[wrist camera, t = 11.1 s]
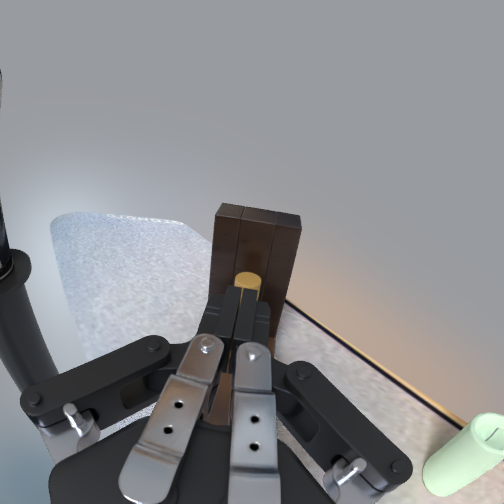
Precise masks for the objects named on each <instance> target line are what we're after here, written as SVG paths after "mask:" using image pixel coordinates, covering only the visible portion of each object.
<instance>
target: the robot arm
mask: <svg viewBox="0 0 504 504" xmlns="http://www.w3.org/2000/svg"><path fill="white" fill-rule="evenodd" d="M1 95H2V75H1V70H0V106H1ZM13 268H14V262H13V259H12V256H11V252H10V248H9V243H8V239H7V234H6V229H5V223H4V218H3V213H2V206H1V200H0V282H1V281H3V280H4V279H5V278H7V277H8V276H9V275H10V274H11V272H12V271H13ZM241 293H242V297H241ZM257 294H258V290H254V289H248V288H243V292H242V287H237V286H231V285H227V289H226V292H225V295H223V294H218V293H215V294H214V295H212V296H211V297H210V298H209V300H208V302H207V305H206V308H205V311H204V314H203V316H202V319H201V322H200V325H199V328H198V331H197V334H196V336H195V337H194V338H193V339H192V340H190V341H188V342H186V343H182V344H169V342H168V341H167V340H166V339H165V338H163V337H161V336H157V335H150V336H146V337H144V338H141V339H139V340H137V341H135V342H133V343H130V344H128V345H126V346H124V347H121V348H119V349H117V350H115V351H112V352H110V353H108V354H106V355H103V356H101V357H99V358H97V359H94V360H92V361H90V362H87V363H85V364H83V365H80V366H78V367H76V368H73V369H71V370H69V371H66V372H64V373H62V374H59V375H57V376H54V377H52V378H50V379H47V380H45V381H42V382H40V383H38V384H35V385H33V386H30V387H28V388H27V389H25V390H24V391H23V393H22V395H21V397H20V405H21V407H22V409H23V411H24V412H25V413H26V415H27V416H28V417H29V418H30V420H31V421H32V422H33V423H34V424H35V426H36V427H37V428H38V429H39V431H40V433H41V436H42V438H43V440H44V442H45V444H46V447H47V449H48V451H49V453H50V455H51V457H52V459H53V460H54V462H55V467H54V468H53V469H52V471H51V474H50V477H49V485H48V486H49V493H50V500H51V504H375V503H376V502H377V501H378V500H379V499H380V498H381V497H383V496H385V495H386V494H388V493H390V492H391V491H393V490H395V489H396V488H397V487H398V486H400V485H401V484H403V483H404V482H406V481H407V480H408V479H409V478H410V477H411V475H412V471H413V466H412V462H411V460H410V459H409V458H408V457H407V456H406V455H405V454H404V453H403V452H402V451H401V450H400V449H399V448H398V447H397V446H396V445H394V444H393V443H392V442H391V441H390V440H389V439H388V438H387V437H386V436H385V435H384V434H383V433H382V432H381V431H380V430H379V429H378V428H377V427H376V426H375V425H374V424H372V423H371V422H370V421H369V420H368V419H367V418H366V417H365V416H364V415H363V414H362V413H361V412H360V411H359V410H358V409H357V408H356V407H355V406H354V405H353V404H352V403H351V402H350V401H349V400H348V399H347V398H346V397H345V396H344V395H343V394H342V393H341V392H340V391H339V390H338V389H337V388H336V387H335V386H334V385H333V384H332V383H331V382H330V381H329V380H328V379H327V378H326V377H325V376H324V375H323V374H322V373H321V372H320V371H319V370H318V369H317V368H316V367H315V366H314V365H312V364H311V363H308V362H305V361H296V362H293V363H291V364H290V365H286V364H284V363H281V362H279V361H277V360H276V359H274V358H273V357H272V356H271V354H270V351H269V350H268V341H269V328H270V314H271V309H270V307H269V305H268V303H267V302H263V301H257ZM240 300H241V302H240ZM230 353H231V355H230ZM229 358H230V362H229ZM228 363H229V369H228V374H232V375H231V382H230V384H231V393H230V405H229V417H228V425H212V424H210V423H208V420H209V417H210V414H211V411H212V408H213V404H214V401H215V398H216V395H217V392H218V389H219V385H220V377H221V373H227V368H228ZM155 402H157V403H156V405H155V407H154V409H153V411H152V413H151V416H147V417H143V418H141V419H138V420H136V421H134V422H132V423H131V424H129V425H127V426H125V427H124V428H122V429H120V430H118V431H117V432H115V433H113V434H111V435H109V436H108V437H106V438H104V439H102V440H100V441H98V440H99V438H100V431H101V430H103V429H105V428H107V427H109V426H111V425H113V424H115V423H117V422H119V421H121V420H123V419H125V418H127V417H129V416H131V415H133V414H135V413H136V412H138V411H140V410H142V409H144V408H146V407H148V406H150V405H151V404H153V403H155ZM276 416H277V417H278V419H279V420H280V421H281V422H282V423H283V425H284V426H285V427H286V428H287V429H288V431H289V432H290V433H291V434H292V435H293V437H294V438H295V439H296V440H297V441H298V442H299V444H300V445H301V446H302V447H303V448H304V449H305V450H306V452H307V453H308V454H309V455H310V456H311V457H312V458H313V459H314V461H315V462H316V463H317V464H318V465H319V466H320V467H321V468H322V469H323V470H324V472H325V474H324V476H323V485H324V488H325V489H326V491H327V492H328V494H327V492H326V491H325V490H324V489H323V488H322V487H321V485H320V484H319V483H318V482H317V481H316V479H315V478H314V477H313V476H312V475H311V473H310V472H309V471H308V470H307V469H306V467H305V466H304V465H303V464H302V462H301V461H300V460H299V459H298V457H297V456H296V455H295V454H294V452H293V451H292V450H291V449H290V448H289V447H288V446H287V445H286V444H285V443H283V442H282V441H280V440H279V439H277V426H276ZM97 441H98V442H97Z"/></svg>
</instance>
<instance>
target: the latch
mask: <svg viewBox="0 0 504 504" xmlns="http://www.w3.org/2000/svg"><path fill="white" fill-rule="evenodd" d="M301 231H302V226H301V219H300V216H299V215H294V214H288V213H283V212H276V211H270V210H264V209H257V208H252V207H245V206H239V205H233V204H227V203H222V204H221V206H220V208H219V209H218V211H217V213H216V214H215V222H214V233H213V244H212V256H211V268H210V281H209V295H208V300H209V298H210V297H211V296H212V295H214V294H215V293H218V294H223V295H225V292H226V289H227V285H231V286H234V284H235V277H236V275H237V274H239V273H242V272H251V273H254V274H256V275H258V276H259V277H260V278H261V287H260V292H259V297H258V301H263V302H267V303H268V305H269V307H270V309H271V314H270V328H269V341H268V350H269V351H270V354H271V356H272V357H273V358H274V347H275V336H276V333H277V329H278V325H279V321H280V317H281V313H282V310H283V306H284V302H285V298H286V294H287V289H288V285H289V282H290V277H291V273H292V269H293V265H294V261H295V257H296V252H297V248H298V244H299V239H300V235H301ZM229 362H230V358H229ZM228 369H229V363H228V368H227V373H221V377H220V385H219V389H218V392H217V395H216V398H215V401H214V404H213V408H212V411H211V414H210V417H209V420H208V423H210V424H212V425H228V417H229V405H230V393H231V384H230V382H231V375H232V374H228Z"/></svg>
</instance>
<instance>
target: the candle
mask: <svg viewBox="0 0 504 504" xmlns="http://www.w3.org/2000/svg"><path fill="white" fill-rule="evenodd" d="M503 459H504V416H502V415H500V414H496V413H482V414H479V415H477V416H475V417H474V418H473V419H472V420H471V421H470V422H469V423H468V424H467V425H466V426H465V427H464V428H463V429H462V430H461V431H460V432H459V433H458V434H457V435H455V436H454V437H453V438H452V439H451V440H450V441H449V442H448V443H446V444H445V445H444V446H443V447H442V448H440V449H439V450H438V451H437V452H436V453H434V454H433V455H432V456H431V457H429V458H428V460H427V461H426V462H425V465H424V467H423V481H424V483H425V486H426V487H427V489H428V490H429V491H430V492H431V493H433V494H434V495H437V496H443V497H445V496H449V495H451V494H453V493H455V492H456V491H458V490H460V489H461V488H463V487H465V486H466V485H468V484H469V483H471V482H472V481H474V480H475V479H477V478H478V477H480V476H481V475H483V474H484V473H486V472H487V471H488V470H490V469H491V468H493V467H494V466H495V465H497V464H498V463H499V462H500V461H502V460H503Z"/></svg>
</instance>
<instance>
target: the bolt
mask: <svg viewBox="0 0 504 504" xmlns="http://www.w3.org/2000/svg"><path fill="white" fill-rule="evenodd" d="M234 286H237V287H242V292H243V288H248V289H254V290H258V294H257V301H258V297H259V292H260V287H261V278H260V277H259V276H258V275H256V274H254V273H251V272H242V273H239V274H237V275H236V277H235V284H234ZM241 297H242V293H241ZM240 302H241V300H240ZM230 355H231V353H230Z"/></svg>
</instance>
